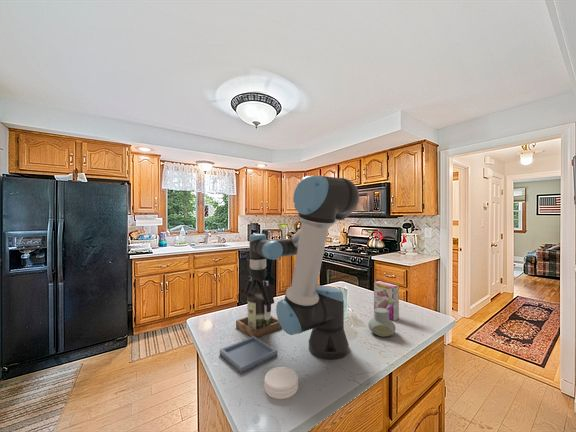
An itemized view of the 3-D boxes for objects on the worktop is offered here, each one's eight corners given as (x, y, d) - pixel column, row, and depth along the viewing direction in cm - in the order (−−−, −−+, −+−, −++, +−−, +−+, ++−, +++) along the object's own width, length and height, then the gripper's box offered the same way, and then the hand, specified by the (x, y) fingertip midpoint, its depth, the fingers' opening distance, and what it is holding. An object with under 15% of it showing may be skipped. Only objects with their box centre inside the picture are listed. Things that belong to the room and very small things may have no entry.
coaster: (260, 398, 69) (260, 386, 69) (268, 375, 79) (268, 364, 79) (296, 402, 68) (295, 389, 68) (300, 378, 78) (299, 367, 78)
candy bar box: (373, 314, 126) (373, 282, 126) (379, 311, 129) (379, 280, 129) (393, 321, 117) (393, 287, 117) (399, 319, 120) (399, 285, 120)
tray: (277, 355, 90) (277, 350, 90) (241, 373, 80) (241, 367, 80) (253, 340, 101) (253, 335, 101) (219, 354, 91) (219, 349, 91)
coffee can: (272, 323, 117) (272, 293, 117) (266, 333, 107) (266, 301, 107) (252, 321, 119) (251, 292, 119) (244, 331, 109) (243, 299, 109)
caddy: (282, 327, 112) (282, 321, 112) (254, 338, 102) (254, 331, 102) (262, 317, 124) (262, 311, 124) (236, 327, 114) (236, 320, 114)
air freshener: (368, 336, 104) (368, 312, 104) (368, 327, 112) (368, 305, 111) (396, 339, 100) (396, 315, 100) (394, 330, 108) (394, 307, 108)
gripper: (282, 271, 106) (282, 320, 106) (250, 262, 125) (250, 304, 125) (268, 274, 101) (268, 325, 101) (236, 264, 120) (237, 308, 120)
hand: (258, 314), depth 113 cm, fingers open, 13 cm apart
